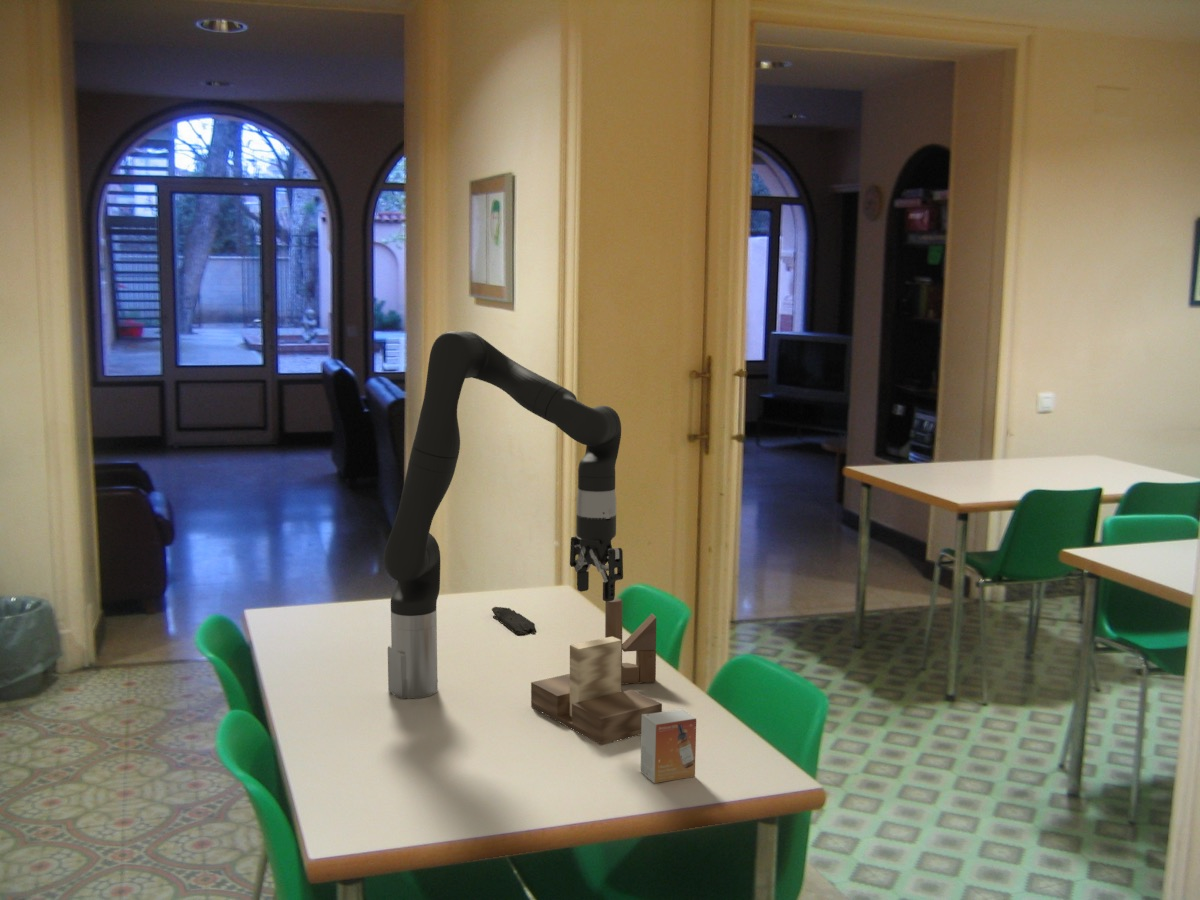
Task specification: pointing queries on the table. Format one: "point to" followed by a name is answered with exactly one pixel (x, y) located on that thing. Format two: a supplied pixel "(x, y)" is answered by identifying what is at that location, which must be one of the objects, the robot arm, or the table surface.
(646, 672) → the wooden toy block structure
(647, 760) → the small box
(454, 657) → the table surface
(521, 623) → the wood
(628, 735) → the slotted plate
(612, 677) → the maple slat
